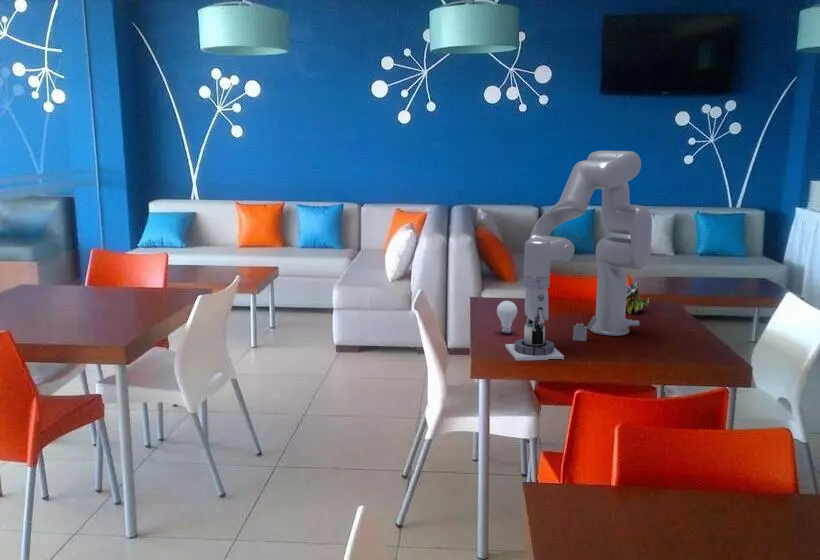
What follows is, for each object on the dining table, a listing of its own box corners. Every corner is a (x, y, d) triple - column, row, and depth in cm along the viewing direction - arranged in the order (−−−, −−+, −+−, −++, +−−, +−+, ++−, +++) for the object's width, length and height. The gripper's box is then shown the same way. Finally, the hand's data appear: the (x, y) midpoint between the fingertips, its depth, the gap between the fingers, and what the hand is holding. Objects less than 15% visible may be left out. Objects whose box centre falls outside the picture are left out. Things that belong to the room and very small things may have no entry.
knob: (541, 339, 221) (542, 321, 220) (546, 345, 216) (547, 326, 214) (521, 340, 221) (522, 321, 220) (526, 345, 215) (527, 326, 214)
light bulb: (515, 336, 237) (516, 303, 235) (495, 335, 238) (496, 302, 236) (517, 331, 244) (518, 299, 241) (497, 330, 245) (497, 298, 243)
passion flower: (617, 325, 277) (610, 293, 283) (650, 320, 275) (643, 288, 281) (618, 313, 266) (611, 279, 272) (653, 308, 264) (645, 274, 270)
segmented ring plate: (549, 346, 226) (550, 336, 226) (563, 359, 213) (564, 349, 212) (505, 347, 225) (505, 337, 224) (516, 360, 211) (516, 350, 211)
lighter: (572, 340, 234) (574, 315, 232) (573, 338, 235) (574, 314, 234) (595, 341, 232) (597, 317, 230) (595, 340, 233) (597, 315, 232)
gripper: (557, 287, 207) (555, 348, 210) (540, 276, 224) (538, 333, 227) (531, 287, 206) (529, 349, 209) (516, 276, 223) (515, 334, 226)
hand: (534, 340), depth 218 cm, fingers closed on knob, 5 cm apart
